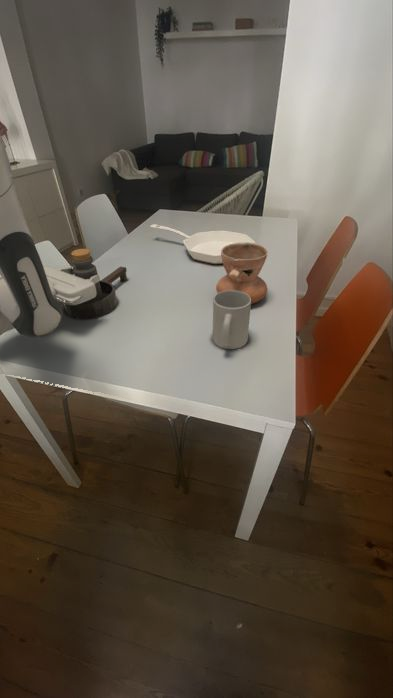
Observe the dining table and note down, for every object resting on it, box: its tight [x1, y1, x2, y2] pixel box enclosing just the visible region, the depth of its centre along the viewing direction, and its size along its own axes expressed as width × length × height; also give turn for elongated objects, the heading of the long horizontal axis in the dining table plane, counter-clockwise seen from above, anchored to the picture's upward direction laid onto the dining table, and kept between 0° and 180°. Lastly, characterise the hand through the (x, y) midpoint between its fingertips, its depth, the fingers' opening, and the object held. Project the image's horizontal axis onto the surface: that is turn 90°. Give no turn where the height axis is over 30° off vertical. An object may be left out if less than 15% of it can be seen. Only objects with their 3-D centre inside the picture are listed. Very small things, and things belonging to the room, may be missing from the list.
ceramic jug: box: [215, 242, 268, 305], centre depth 89 cm, size 18×14×14 cm
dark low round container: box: [63, 279, 118, 320], centre depth 90 cm, size 14×14×4 cm
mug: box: [211, 290, 252, 350], centre depth 72 cm, size 12×8×11 cm
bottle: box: [70, 248, 103, 303], centre depth 86 cm, size 6×6×15 cm
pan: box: [149, 223, 257, 265], centre depth 122 cm, size 25×44×6 cm, turn 59°
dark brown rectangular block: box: [100, 266, 128, 284], centre depth 99 cm, size 2×11×4 cm, turn 159°
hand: (85, 273), depth 86 cm, fingers open, 8 cm apart
